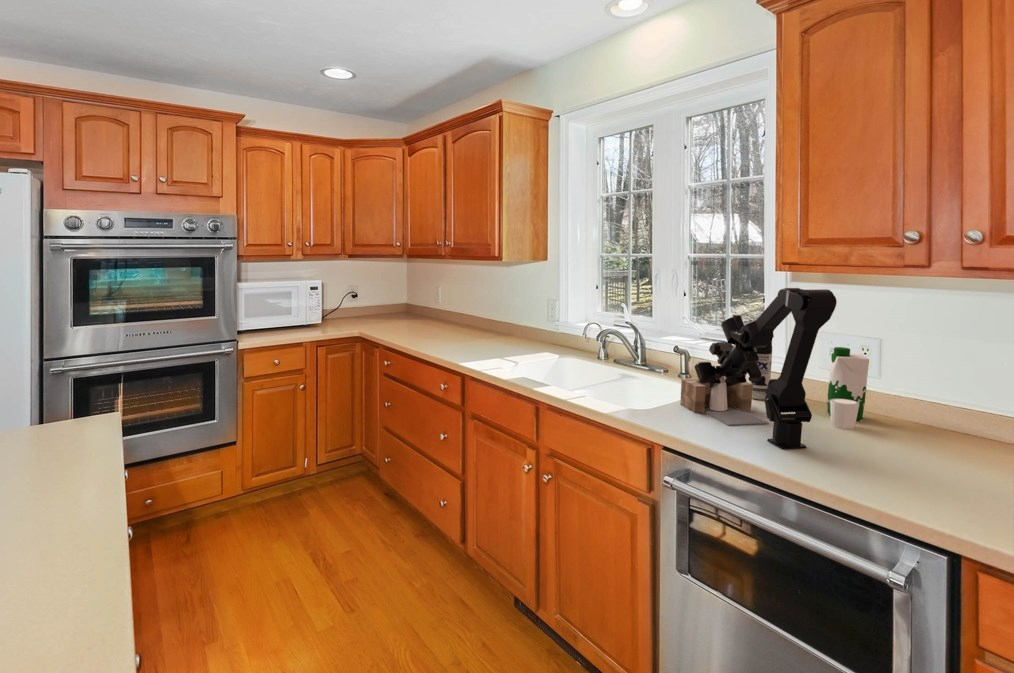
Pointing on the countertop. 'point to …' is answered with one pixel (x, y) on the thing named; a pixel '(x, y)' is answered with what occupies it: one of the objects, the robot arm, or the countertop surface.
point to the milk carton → (848, 378)
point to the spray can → (765, 369)
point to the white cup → (843, 413)
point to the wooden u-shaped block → (699, 395)
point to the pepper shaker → (719, 397)
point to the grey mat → (737, 418)
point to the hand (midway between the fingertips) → (716, 386)
